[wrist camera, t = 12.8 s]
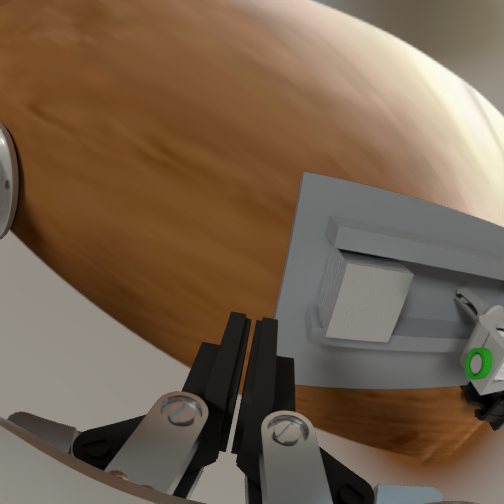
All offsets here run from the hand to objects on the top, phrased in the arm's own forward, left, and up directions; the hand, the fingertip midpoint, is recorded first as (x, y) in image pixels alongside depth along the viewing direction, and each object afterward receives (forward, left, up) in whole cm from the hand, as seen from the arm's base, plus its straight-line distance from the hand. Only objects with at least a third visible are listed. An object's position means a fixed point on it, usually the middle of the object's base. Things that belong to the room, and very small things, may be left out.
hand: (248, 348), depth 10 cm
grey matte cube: (+6, 0, -9) cm, 11 cm away
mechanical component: (+16, 0, -9) cm, 18 cm away
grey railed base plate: (+13, -2, -10) cm, 16 cm away
